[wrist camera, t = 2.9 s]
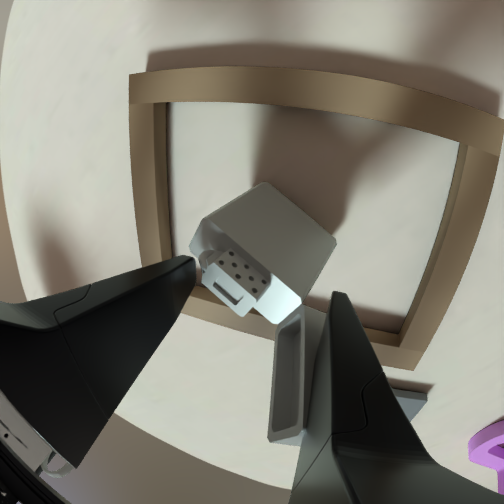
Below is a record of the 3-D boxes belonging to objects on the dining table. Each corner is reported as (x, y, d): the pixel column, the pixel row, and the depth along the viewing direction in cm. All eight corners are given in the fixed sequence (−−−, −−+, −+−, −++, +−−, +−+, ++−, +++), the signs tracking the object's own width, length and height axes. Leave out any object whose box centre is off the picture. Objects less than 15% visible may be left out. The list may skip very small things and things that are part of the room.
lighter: (246, 207, 14) (109, 307, 8) (264, 179, 13) (114, 273, 7) (362, 307, 13) (296, 462, 7) (388, 286, 12) (335, 455, 6)
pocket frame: (495, 118, 8) (505, 120, 7) (412, 357, 15) (413, 370, 14) (142, 74, 12) (129, 74, 11) (156, 292, 19) (147, 301, 18)
